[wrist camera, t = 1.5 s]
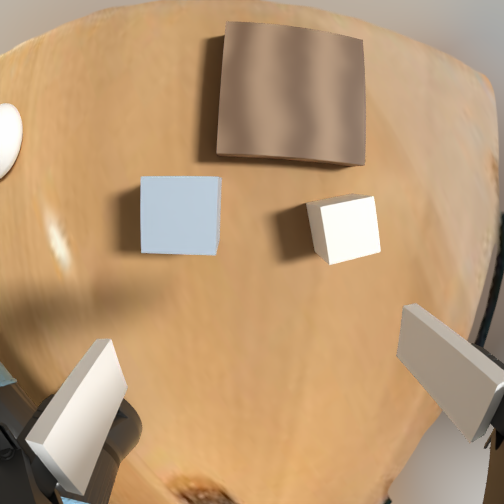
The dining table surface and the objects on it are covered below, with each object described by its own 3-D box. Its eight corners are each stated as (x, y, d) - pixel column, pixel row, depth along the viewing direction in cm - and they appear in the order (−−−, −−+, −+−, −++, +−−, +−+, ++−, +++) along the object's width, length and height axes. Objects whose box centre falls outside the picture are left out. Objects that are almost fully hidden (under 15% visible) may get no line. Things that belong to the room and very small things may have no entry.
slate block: (160, 237, 34) (141, 252, 26) (161, 177, 33) (140, 176, 25) (219, 238, 35) (215, 255, 27) (221, 178, 33) (218, 176, 25)
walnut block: (218, 156, 33) (216, 153, 29) (226, 36, 29) (226, 21, 25) (351, 166, 34) (364, 165, 30) (351, 51, 30) (362, 40, 27)
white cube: (314, 251, 36) (329, 264, 30) (305, 202, 34) (320, 207, 29) (359, 240, 36) (380, 251, 30) (352, 193, 34) (373, 196, 29)
